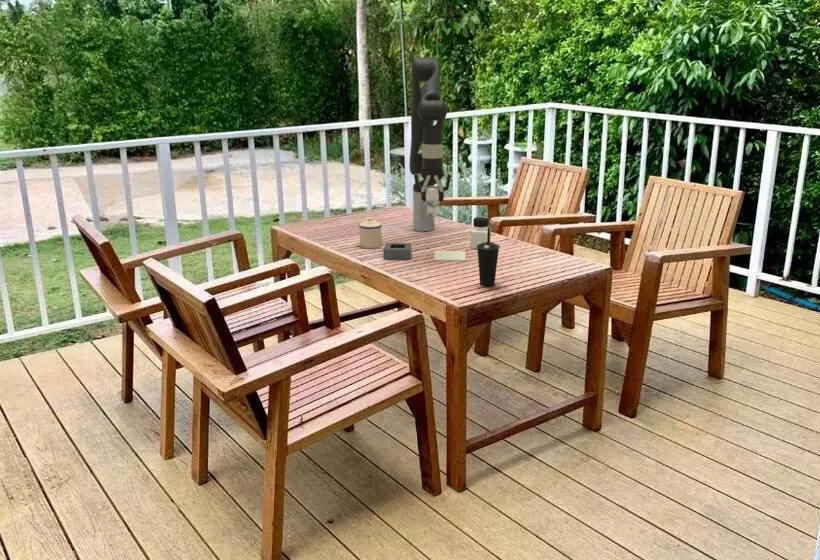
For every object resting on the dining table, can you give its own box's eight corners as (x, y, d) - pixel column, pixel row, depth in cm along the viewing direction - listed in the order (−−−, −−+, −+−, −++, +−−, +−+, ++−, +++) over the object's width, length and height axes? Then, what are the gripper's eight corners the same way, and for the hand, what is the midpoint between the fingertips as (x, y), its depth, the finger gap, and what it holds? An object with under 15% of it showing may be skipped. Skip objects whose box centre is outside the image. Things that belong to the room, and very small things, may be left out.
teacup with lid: (386, 246, 297) (386, 218, 294) (367, 250, 292) (367, 221, 289) (370, 240, 307) (369, 212, 303) (351, 243, 301) (350, 216, 298)
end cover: (425, 214, 280) (425, 185, 277) (440, 214, 280) (440, 185, 276) (424, 217, 275) (424, 188, 272) (439, 217, 275) (439, 188, 271)
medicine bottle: (488, 249, 292) (489, 219, 288) (470, 248, 293) (471, 219, 289) (490, 245, 298) (491, 215, 295) (472, 244, 300) (473, 215, 296)
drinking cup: (475, 288, 246) (476, 229, 240) (476, 281, 253) (477, 224, 247) (498, 289, 245) (499, 230, 239) (499, 282, 252) (500, 224, 246)
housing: (386, 252, 288) (385, 242, 287) (411, 252, 288) (411, 242, 287) (383, 259, 279) (383, 249, 278) (409, 260, 278) (409, 249, 277)
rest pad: (434, 252, 288) (434, 250, 288) (465, 252, 287) (465, 251, 287) (433, 261, 277) (433, 259, 277) (465, 261, 276) (465, 259, 276)
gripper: (452, 154, 274) (452, 199, 279) (413, 154, 275) (414, 199, 280) (451, 157, 266) (451, 203, 272) (412, 157, 268) (412, 203, 273)
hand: (432, 201), depth 276 cm, fingers closed on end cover, 5 cm apart
